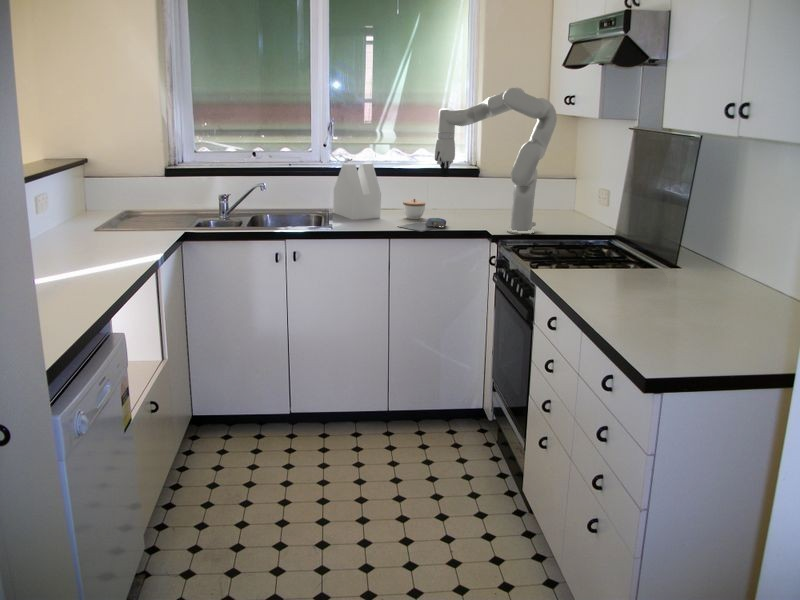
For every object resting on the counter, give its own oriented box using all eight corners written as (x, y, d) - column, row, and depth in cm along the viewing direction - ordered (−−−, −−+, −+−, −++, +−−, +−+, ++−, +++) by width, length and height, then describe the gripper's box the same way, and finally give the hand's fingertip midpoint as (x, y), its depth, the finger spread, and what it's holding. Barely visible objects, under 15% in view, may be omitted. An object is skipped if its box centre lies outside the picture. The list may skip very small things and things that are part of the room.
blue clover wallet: (426, 223, 381) (424, 227, 371) (427, 217, 381) (425, 220, 370) (446, 225, 381) (445, 228, 370) (446, 218, 380) (445, 222, 370)
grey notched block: (333, 212, 400) (334, 161, 393) (360, 211, 408) (361, 160, 402) (352, 219, 385) (353, 166, 378) (380, 217, 393) (382, 165, 386)
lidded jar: (398, 216, 398) (399, 197, 395) (418, 215, 402) (419, 196, 400) (408, 220, 389) (409, 201, 386) (428, 219, 393) (429, 200, 391)
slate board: (421, 222, 385) (421, 221, 384) (444, 227, 376) (444, 226, 376) (397, 226, 372) (397, 226, 372) (421, 231, 363) (421, 230, 363)
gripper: (449, 135, 382) (447, 174, 387) (429, 136, 371) (428, 176, 376) (462, 136, 377) (460, 176, 382) (442, 137, 366) (441, 178, 371)
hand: (444, 176), depth 379 cm, fingers closed
